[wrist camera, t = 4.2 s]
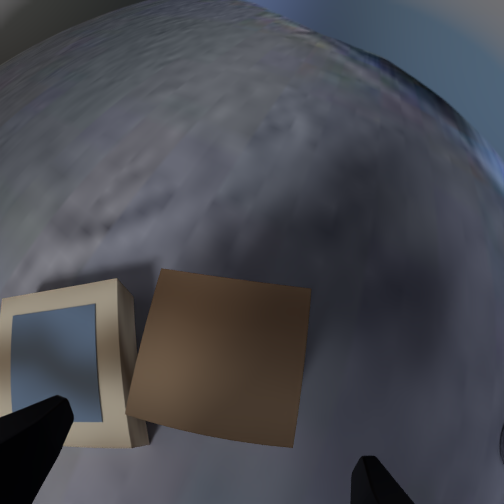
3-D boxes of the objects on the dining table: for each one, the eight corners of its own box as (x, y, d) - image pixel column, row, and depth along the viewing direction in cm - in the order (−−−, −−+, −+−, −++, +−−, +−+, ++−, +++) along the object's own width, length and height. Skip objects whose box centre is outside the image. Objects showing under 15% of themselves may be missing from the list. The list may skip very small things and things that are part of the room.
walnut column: (274, 431, 16) (292, 447, 8) (190, 417, 17) (124, 414, 8) (285, 352, 19) (311, 288, 10) (205, 340, 19) (161, 268, 10)
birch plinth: (149, 444, 16) (130, 448, 13) (27, 439, 15) (0, 437, 12) (133, 296, 21) (116, 277, 18) (24, 313, 20) (1, 298, 17)
